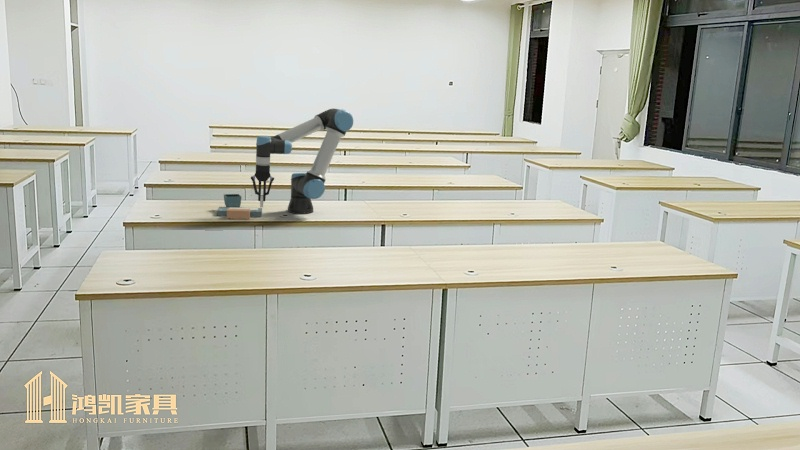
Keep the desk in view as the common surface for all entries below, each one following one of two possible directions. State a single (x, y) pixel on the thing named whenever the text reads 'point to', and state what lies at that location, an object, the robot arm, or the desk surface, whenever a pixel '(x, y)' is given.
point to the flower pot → (232, 200)
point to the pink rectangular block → (238, 213)
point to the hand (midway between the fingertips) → (261, 206)
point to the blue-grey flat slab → (253, 211)
